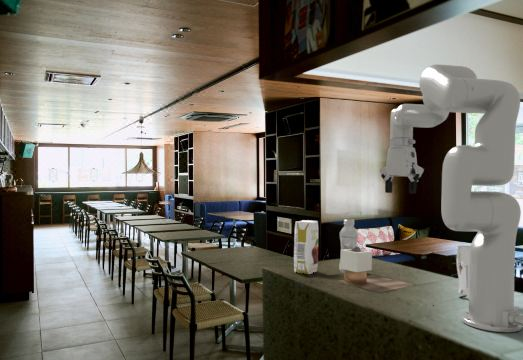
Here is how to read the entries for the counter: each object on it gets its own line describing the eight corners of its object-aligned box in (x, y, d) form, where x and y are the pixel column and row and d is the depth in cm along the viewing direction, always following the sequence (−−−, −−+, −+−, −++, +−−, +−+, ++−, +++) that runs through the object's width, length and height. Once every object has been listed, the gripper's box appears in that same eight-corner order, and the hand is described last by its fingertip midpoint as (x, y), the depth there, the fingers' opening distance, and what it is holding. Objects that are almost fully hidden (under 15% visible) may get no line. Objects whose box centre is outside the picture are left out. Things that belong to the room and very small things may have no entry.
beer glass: (472, 302, 123) (473, 249, 123) (450, 296, 129) (451, 246, 129) (486, 299, 126) (487, 248, 127) (464, 293, 132) (465, 245, 132)
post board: (415, 289, 136) (416, 248, 136) (378, 297, 126) (379, 252, 126) (372, 279, 150) (373, 242, 150) (336, 285, 139) (337, 245, 139)
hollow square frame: (371, 270, 138) (371, 251, 138) (356, 272, 134) (357, 253, 134) (354, 266, 144) (355, 248, 144) (340, 268, 140) (340, 250, 140)
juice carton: (291, 272, 158) (292, 221, 159) (300, 269, 166) (302, 219, 166) (310, 275, 155) (311, 222, 155) (319, 271, 162) (320, 220, 162)
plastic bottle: (357, 276, 154) (358, 220, 154) (338, 275, 155) (339, 220, 156) (357, 273, 160) (358, 219, 161) (339, 271, 162) (340, 218, 162)
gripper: (429, 143, 145) (428, 193, 145) (387, 146, 159) (386, 192, 159) (416, 141, 141) (415, 193, 141) (374, 144, 155) (373, 192, 155)
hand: (400, 193), depth 150 cm, fingers open, 9 cm apart
